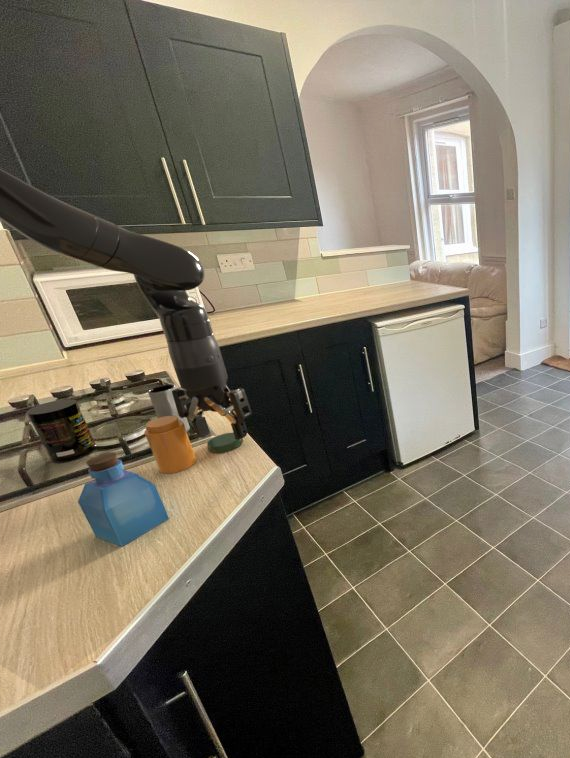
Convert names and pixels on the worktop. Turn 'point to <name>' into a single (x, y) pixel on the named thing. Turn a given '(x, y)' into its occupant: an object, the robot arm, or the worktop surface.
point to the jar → (170, 444)
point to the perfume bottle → (119, 501)
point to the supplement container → (62, 430)
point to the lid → (223, 443)
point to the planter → (165, 402)
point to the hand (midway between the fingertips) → (222, 436)
